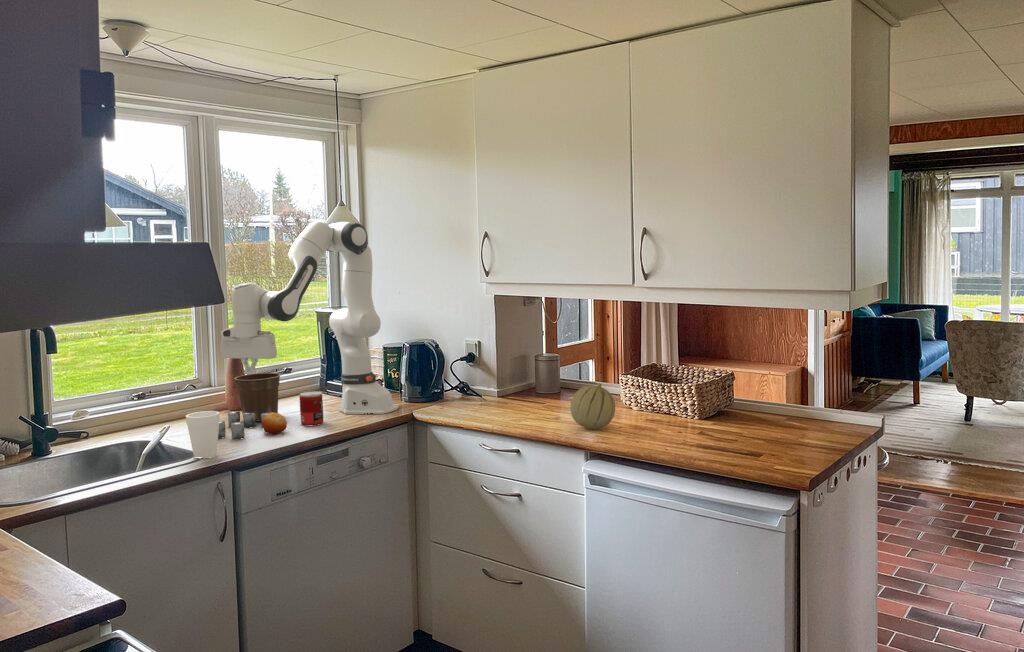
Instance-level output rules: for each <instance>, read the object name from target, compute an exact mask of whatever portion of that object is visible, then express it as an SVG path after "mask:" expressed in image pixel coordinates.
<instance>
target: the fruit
mask: <svg viewBox="0 0 1024 652" xmlns="http://www.w3.org/2000/svg"><path fill="white" fill-rule="evenodd" d="M287 421H288V420H287V419H286V417H285V416H284V415H282V414H281V413H279V412H278V413H273V412H272V413H269V414H267V415H266V416H265V417H264V418H263V420H262V426H263V428H262V430H264V431H263V433H264V434H265V433H266V434H268V435H273V436H275V434H276V435H278V434H281V433H282V432H283V433H284V432H285V430H286V429H287V428H288V422H287ZM262 426H261V427H262Z"/></svg>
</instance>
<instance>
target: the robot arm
mask: <svg viewBox="0 0 1024 652" xmlns="http://www.w3.org/2000/svg"><path fill="white" fill-rule="evenodd" d="M368 237H369V236H368V231H367V230H366V227H365V226H364V225H363V224H361V223H359V222H354V221H339V222H334V223H326V222H324V221H323V220H314V221H312V222H311V223H309V224H308V225H307V226H306V227H305V228H304V229H303V230H302V231H301V232H300V234H299V235H298V236H297V238H296V239H295V240H294V241H293V243H292V245H291V246H290V248H289V250H288V258H289V262H290V264H291V265H293V266H294V267H295V271H294V273H293V274H292V276H291V278H290V279H289V282H288V283H287V285H286V286H285V287H284V289H282V290H279V291H273V290H270V289H269V290H268V289H265V288H263V287H261V286H260V285H258V284H257V283H256V282H250V281H249V282H243V283H240V284H237V285H235V286H234V287H233V288H232V291H231V310H232V313H233V321H232V325H233V326H231V327H228V328H226V329H224V330H221V331H220V336H221V337H222V338H221V339H220V355H221V357H222V358H223V359H240V360H241V364H242V365H243V367H244V372H246V373H247V372H249V373H250V372H251V373H254V372H256V366H257V364H258V363H259V359H260V360H262V359H263V360H271V359H275V358H276V357H277V356H278V351H277V349H278V348H277V344H276V338H275V334H274V333H273V332H272V331H270V330H267V331H264V330H262V324H261V323H262V322H261V319H268V320H273V321H274V320H276V321H279V322H289V321H291V320H293V319H294V318H295V317H296V316H297V314H298V313H299V310H300V306H301V303H302V302H301V301H302V299H303V297H304V295H305V293H306V292H307V290H308V287H309V285H310V284H311V282H312V280H313V279H314V276H315V275H316V272H317V271H318V270H317V269H318V265H319V263H320V262H321V261H322V260H321V259H322V258H323V257H324V256H325V254H326V252H329V253H331V252H335V253H341V254H342V256H343V266H342V267H343V268H342V277H341V278H342V279H341V280H342V281H341V292H342V294H343V296H344V297H345V300H346V304H347V305H346V306H347V307H342V308H338V309H336V310H334V311H333V312H332V313H331V314H330V316H329V318H328V319H329V320H328V323H329V327H330V329H331V331H333V334H334V335H335V338H336V340H337V344H338V348H339V351H340V356H341V357H340V358H341V374H340V376H341V379H340V380H341V387H342V393H341V401H340V407H339V412H342V413H344V415H371V414H370V413H373V414H372V415H384V414H388V413H391V412H394V411H396V410H398V409H399V408H400V406H399V404H397V403H394V402H393V397H392V396H393V395H392V394H391V392H390V391H389V390H388V389H387V388H385V387H384V386H382V385H381V384H380V383H378V382H377V380H376V379H377V378H379V376H378V375H379V374H378V373H376V374H375V373H374V372H373V371H372V355H371V351H370V349H369V347H368V346H367V344H366V341H365V339H366V338H370V337H374V336H375V335H377V334H378V333H379V331H380V329H381V325H382V320H381V318H380V316H379V314H378V313H377V312H376V310H375V306H374V302H373V295H372V294H373V293H372V288H373V287H372V286H373V285H372V284H373V254H372V250H371V248H370V246H369V245H368V244H369V238H368ZM249 361H250V362H251V364H249ZM364 413H365V414H364ZM367 413H368V414H367Z"/></svg>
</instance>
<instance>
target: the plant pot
mask: <svg viewBox="0 0 1024 652" xmlns="http://www.w3.org/2000/svg"><path fill="white" fill-rule="evenodd" d="M281 376H282V375H281V373H279V372H277V373H276V372H260V373H259V372H258V373H249V374H242V375H239V376H236V377H234V381H235V384H236V389H237V390H238V395H239V402H240V407H241V413H242V415H243V413H244V412H255V421H256V422H260V423H261V413H264V412H273V413H278V414H279V387H280V377H281Z"/></svg>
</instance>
